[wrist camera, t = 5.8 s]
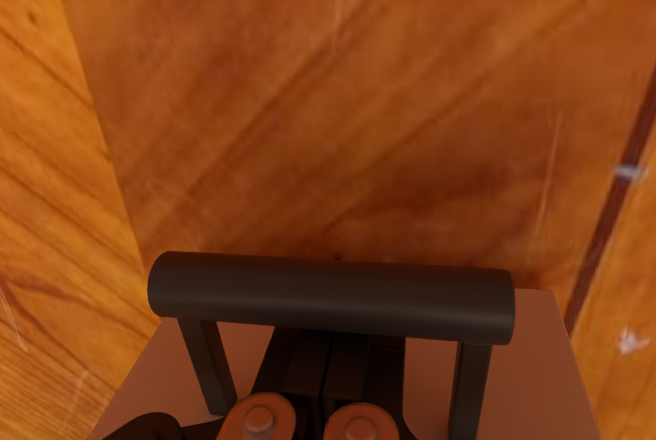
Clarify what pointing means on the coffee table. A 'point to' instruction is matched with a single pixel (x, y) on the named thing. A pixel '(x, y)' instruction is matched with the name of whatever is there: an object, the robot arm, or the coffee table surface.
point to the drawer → (365, 318)
